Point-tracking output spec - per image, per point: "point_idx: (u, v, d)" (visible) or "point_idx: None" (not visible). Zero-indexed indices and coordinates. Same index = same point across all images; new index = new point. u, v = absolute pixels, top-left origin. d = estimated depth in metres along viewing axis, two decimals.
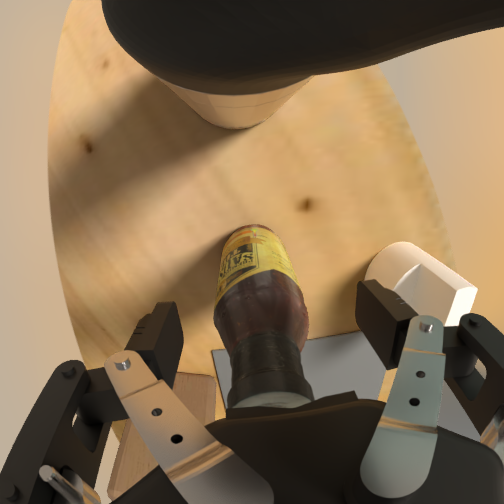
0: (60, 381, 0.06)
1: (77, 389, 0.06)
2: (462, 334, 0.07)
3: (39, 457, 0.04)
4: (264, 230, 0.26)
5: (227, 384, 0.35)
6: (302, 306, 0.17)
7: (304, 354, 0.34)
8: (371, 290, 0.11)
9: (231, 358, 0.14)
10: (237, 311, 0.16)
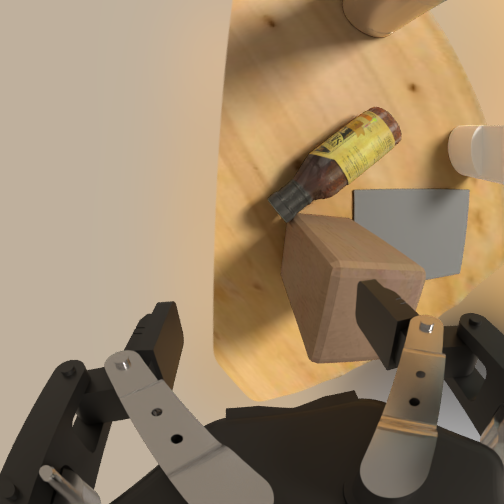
0: (60, 381, 0.06)
1: (77, 389, 0.06)
2: (462, 334, 0.07)
3: (39, 457, 0.04)
4: (380, 123, 0.30)
5: None
6: (330, 185, 0.33)
7: (416, 202, 0.39)
8: (371, 290, 0.11)
9: None
10: (303, 167, 0.34)
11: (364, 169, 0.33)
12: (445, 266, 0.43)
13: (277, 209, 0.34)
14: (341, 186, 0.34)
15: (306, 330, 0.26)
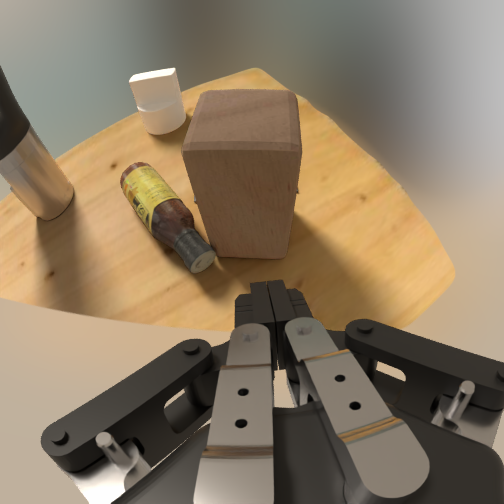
0: (176, 358, 0.08)
1: (188, 373, 0.07)
2: (356, 347, 0.08)
3: (107, 422, 0.05)
4: (130, 176, 0.39)
5: None
6: (176, 210, 0.36)
7: None
8: (271, 290, 0.12)
9: None
10: (162, 238, 0.37)
11: (167, 187, 0.39)
12: None
13: (196, 256, 0.34)
14: (180, 203, 0.38)
15: (272, 173, 0.23)
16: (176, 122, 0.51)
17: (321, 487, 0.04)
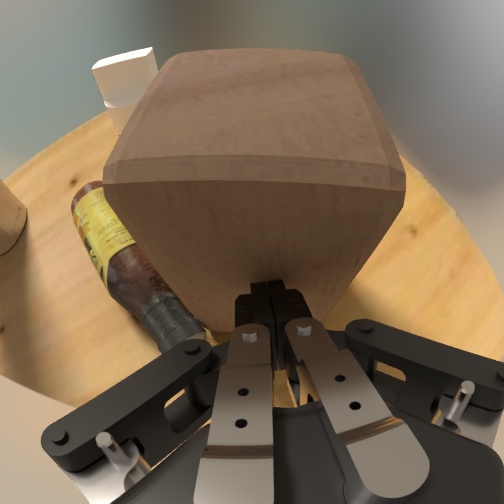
0: (176, 358, 0.08)
1: (188, 373, 0.07)
2: (356, 347, 0.08)
3: (107, 422, 0.05)
4: (81, 203, 0.25)
5: None
6: (142, 264, 0.22)
7: None
8: (271, 290, 0.12)
9: None
10: (124, 305, 0.23)
11: None
12: None
13: None
14: None
15: (330, 238, 0.09)
16: None
17: (321, 487, 0.04)
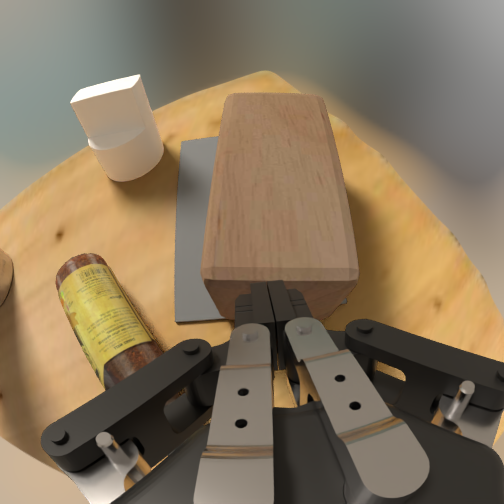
0: (176, 358, 0.08)
1: (188, 373, 0.07)
2: (356, 347, 0.08)
3: (107, 422, 0.05)
4: (65, 286, 0.21)
5: None
6: None
7: (194, 216, 0.30)
8: (271, 290, 0.12)
9: None
10: None
11: (125, 314, 0.21)
12: None
13: None
14: (148, 354, 0.20)
15: (304, 103, 0.24)
16: (147, 162, 0.33)
17: (321, 487, 0.04)
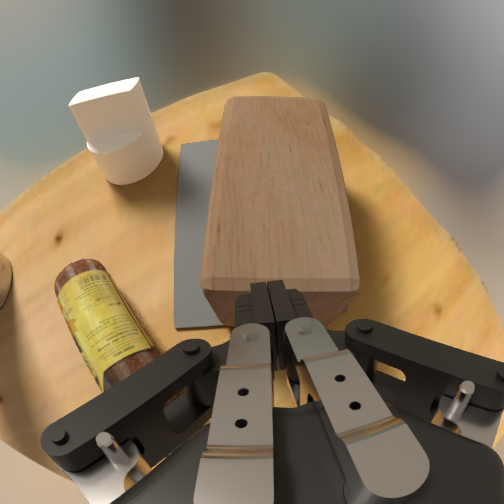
0: (176, 358, 0.08)
1: (188, 373, 0.07)
2: (356, 347, 0.08)
3: (107, 422, 0.05)
4: (64, 292, 0.21)
5: None
6: None
7: (194, 221, 0.30)
8: (271, 290, 0.12)
9: None
10: None
11: (124, 321, 0.21)
12: None
13: None
14: (148, 361, 0.20)
15: (305, 108, 0.24)
16: (146, 165, 0.33)
17: (321, 487, 0.04)
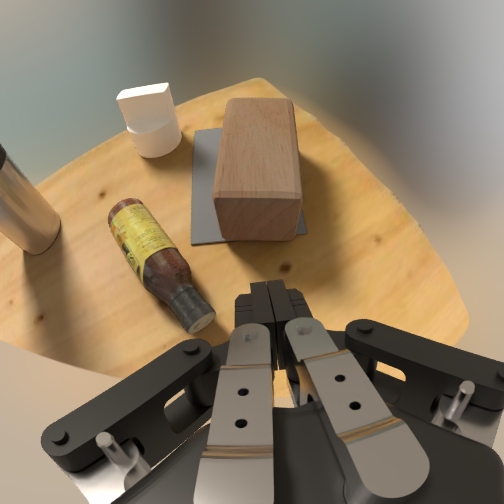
0: (176, 358, 0.08)
1: (188, 373, 0.07)
2: (356, 347, 0.08)
3: (107, 422, 0.05)
4: (118, 216, 0.35)
5: None
6: (170, 264, 0.32)
7: (205, 179, 0.44)
8: (271, 290, 0.12)
9: None
10: (155, 294, 0.32)
11: (160, 231, 0.35)
12: None
13: (194, 320, 0.30)
14: (175, 253, 0.33)
15: (278, 104, 0.37)
16: (170, 144, 0.47)
17: (321, 487, 0.04)
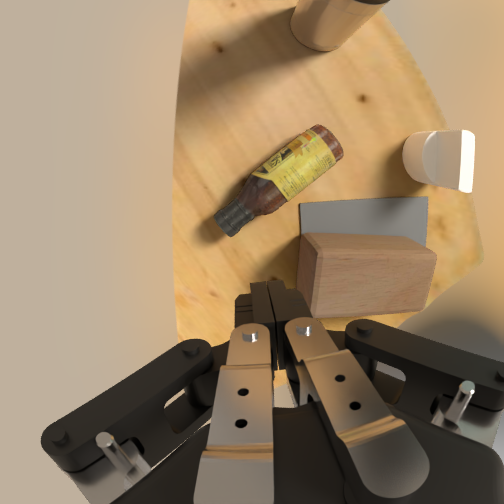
0: (176, 358, 0.08)
1: (188, 373, 0.07)
2: (356, 347, 0.08)
3: (107, 422, 0.05)
4: (319, 143, 0.35)
5: None
6: (268, 204, 0.37)
7: (367, 211, 0.44)
8: (271, 290, 0.12)
9: None
10: (244, 186, 0.38)
11: (303, 187, 0.38)
12: None
13: (220, 226, 0.39)
14: (280, 203, 0.38)
15: (416, 300, 0.38)
16: (413, 174, 0.41)
17: (321, 487, 0.04)
